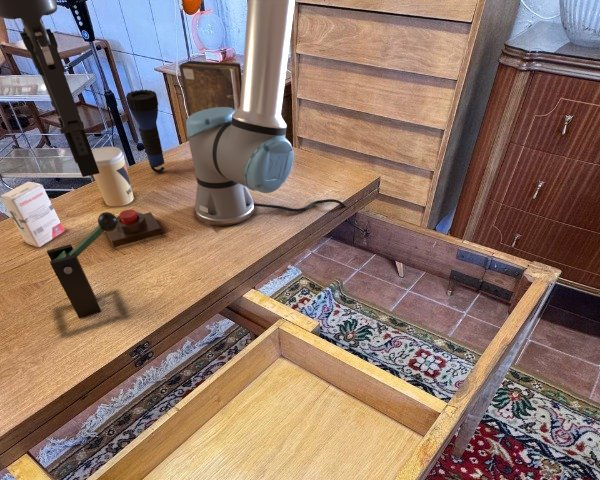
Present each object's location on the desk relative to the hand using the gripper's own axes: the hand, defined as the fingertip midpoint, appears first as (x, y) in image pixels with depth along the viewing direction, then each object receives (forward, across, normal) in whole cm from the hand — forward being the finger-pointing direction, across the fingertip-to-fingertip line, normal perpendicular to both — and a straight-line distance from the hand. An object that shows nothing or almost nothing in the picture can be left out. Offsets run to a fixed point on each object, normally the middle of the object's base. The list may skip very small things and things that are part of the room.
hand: (87, 167), depth 73 cm
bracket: (+27, 0, -10) cm, 28 cm away
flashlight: (+27, -57, +22) cm, 67 cm away
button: (+23, -26, +6) cm, 35 cm away
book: (+27, -54, +41) cm, 73 cm away
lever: (+14, 0, -4) cm, 14 cm away
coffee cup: (+27, -46, +7) cm, 54 cm away
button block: (+27, -26, +6) cm, 38 cm away
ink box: (+27, -36, -14) cm, 47 cm away
